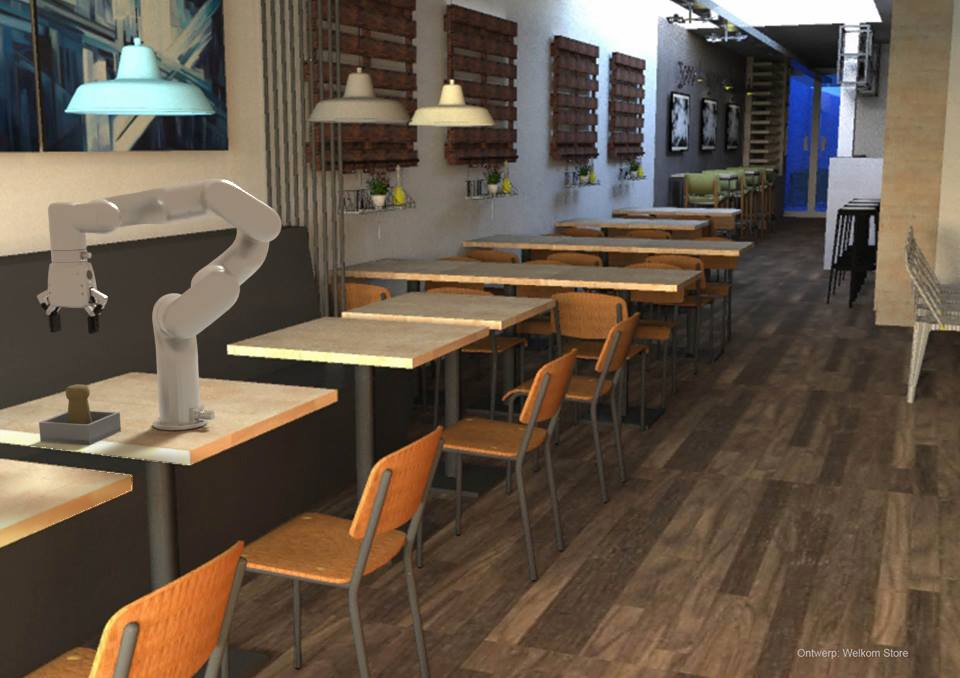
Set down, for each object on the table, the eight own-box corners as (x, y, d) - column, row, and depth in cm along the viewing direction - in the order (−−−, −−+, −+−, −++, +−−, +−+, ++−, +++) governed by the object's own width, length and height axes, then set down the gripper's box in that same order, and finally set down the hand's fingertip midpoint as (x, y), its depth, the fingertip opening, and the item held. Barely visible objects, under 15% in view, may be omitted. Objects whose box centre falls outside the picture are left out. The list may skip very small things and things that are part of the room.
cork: (64, 435, 246) (61, 388, 244) (68, 429, 252) (64, 383, 250) (92, 434, 247) (89, 387, 245) (95, 427, 253) (92, 381, 251)
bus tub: (120, 430, 254) (119, 412, 253) (89, 445, 242) (88, 425, 241) (73, 427, 257) (72, 409, 256) (40, 441, 245) (39, 422, 244)
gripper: (113, 256, 244) (117, 330, 247) (45, 255, 248) (51, 328, 251) (94, 259, 237) (99, 336, 240) (25, 258, 241) (31, 333, 244)
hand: (74, 332), depth 246 cm, fingers open, 9 cm apart
